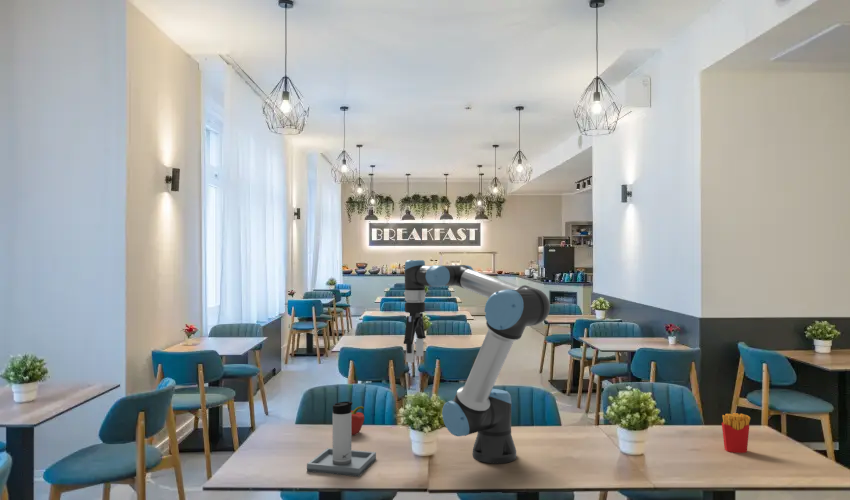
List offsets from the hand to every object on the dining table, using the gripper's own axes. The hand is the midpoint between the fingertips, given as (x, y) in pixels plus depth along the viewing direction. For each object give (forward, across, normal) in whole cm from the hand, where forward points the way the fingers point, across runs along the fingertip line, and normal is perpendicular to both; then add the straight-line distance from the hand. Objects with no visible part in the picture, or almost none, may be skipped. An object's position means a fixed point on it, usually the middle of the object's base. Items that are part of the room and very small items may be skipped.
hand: (415, 359), depth 213 cm
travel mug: (+31, +26, -18) cm, 44 cm away
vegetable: (+32, -8, -28) cm, 43 cm away
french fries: (+32, -22, +113) cm, 119 cm away
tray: (+32, +26, -18) cm, 45 cm away
